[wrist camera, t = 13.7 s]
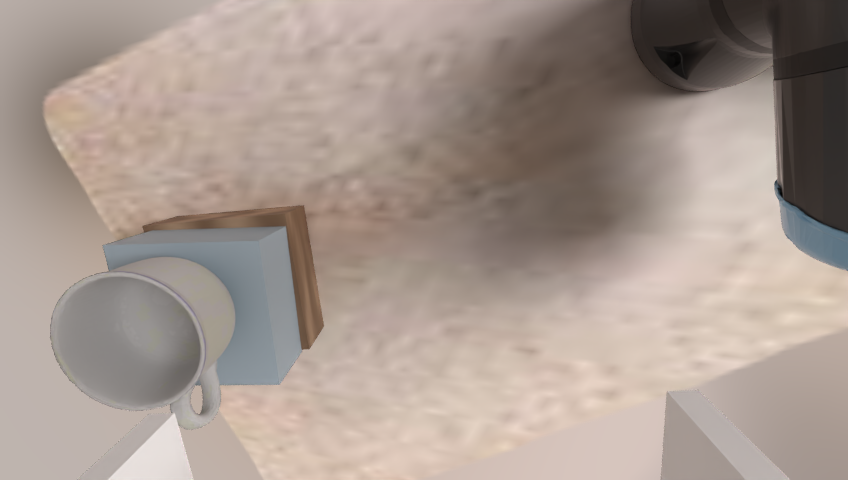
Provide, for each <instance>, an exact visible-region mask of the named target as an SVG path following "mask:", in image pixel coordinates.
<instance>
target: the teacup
mask: <svg viewBox="0 0 848 480" xmlns="http://www.w3.org/2000/svg"><path fill="white" fill-rule="evenodd" d="M234 328H235V308H234V303H233V300H232V298H231V295H230V293H229V291H228V290H227V288H226V287H225V285H224V284H223V283H222V281H221V280H220V279H219V278H218V277H217V276H216V275H215V274H214V273H212V272H211V271H210V270H208V269H207V268H205V267H204V266H202V265H200V264H198V263H195V262H193V261H190V260H187V259H182V258H176V257H156V258H149V259H145V260H141V261H137V262H134V263H131V264H128V265H125V266H122V267H119V268H116V269H113V270H111V271H108V272H102V273H98V274H95V275H91V276H89V277H86V278H84V279H82V280H80V281H79V282H77V283H75V284H74V285H73V286H72V287H70V288H69V289H68V290H67V291H66V292H65V293H64V294H63V295H62V297H61V298H60V299H59V301H58V302H57V304H56V307H55V309H54V311H53V315H52V318H51V325H50V329H51V330H50V331H51V332H50V338H51V342H52V343H51V344H52V348H53V351H54V355H55V357H56V360H57V362H58V363H59V365H60V368H61V369H62V370H63V372H64V373H65V375H66V376H67V377H68V378H69V380H70V381H71V382H72V383H74V384H75V385H76V386H77V387H78V388H79V389H80V390H81V391H82V392H84V393H85V394H86V395H88V396H89V397H91V398H92V399H94V400H96V401H98V402H100V403H103V404H105V405H108V406H110V407H114V408H117V409H123V410H129V411H143V410H151V409H155V408H160V407H164V406H167V405H169V404H170V410H171V413H175V416H176V419H177V423H178V426H180V427H181V428H184V429H187V430H193V429H198V428H201V427H203V426H205V425H207V424H208V423H210V422H211V421H212V420H213V419H214V417H215V416H216V415H217V413H218V410H219V407H220V402H221V390H220V384H219V379H218V375H217V371H216V370H217V359H218V358H219V357H220V356H221V355H222V353H223V352H224V351H225V349H226V348H227V346H228V344H229V343H230V340H231V338H232V335H233V332H234ZM198 379H200V383H201V387H202V393H203V406H202V411H201V413H200V414H197V413H196V412H195V411H194V410H193V408H192V405H191V401H190V400H191V393H192V391H193V389H194V387H195V384H196V382H197V381H198Z"/></svg>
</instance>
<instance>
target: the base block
mask: <svg viewBox="0 0 848 480" xmlns="http://www.w3.org/2000/svg"><path fill="white" fill-rule="evenodd" d="M278 226H286V232H287V240H288V248H289V255H290V263H291V271H292V279H293V287H294V294H295V302H296V310H297V318H298V326H299V334H300V341H301V349H302V350H303V349H310V347H311V346H312V344H313V343H314V341H315V339H316V338H317V336H318V335H319V333H320V332H321V330H322V328H323V327H324V324H323V318H322V312H321V306H320V300H319V294H318V288H317V282H316V276H315V270H314V264H313V258H312V252H311V246H310V240H309V234H308V228H307V222H306V216H305V210H304V205H303V206H292V207H280V208H268V209H257V210H245V211H234V212H222V213H211V214H199V215H188V216H177V217H174V218H170V219H166V220H163V221H159V222H156V223H152V224H149V225H145V226H143V230H144V233H145V232H148V231H152V230H182V229H214V228H246V227H278Z"/></svg>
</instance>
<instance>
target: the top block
mask: <svg viewBox="0 0 848 480" xmlns="http://www.w3.org/2000/svg"><path fill="white" fill-rule="evenodd" d="M103 248H104V253H105V257H106V261H107V265H108V269H109V271H111V270H113V269H116V268H119V267H122V266H125V265H128V264H131V263H134V262H137V261H141V260H145V259H149V258H156V257H176V258H182V259H187V260H190V261H193V262H195V263H198V264H200V265H202V266H204V267H205V268H207V269H208V270H210V271H211V272H212V273H214V274H215V275H216V276H217V277H218V278H219V279H220V280H221V281H222V283H223V284H224V285H225V287H226V288H227V290H228V291H229V293H230V295H231V298H232V300H233V303H234V308H235V328H234V332H233V335H232V338H231V340H230V343H229V344H228V346H227V348H226V349H225V351H224V352H223V353H222V355H221V356H220V357H219V358H218V359H217V370H216V371H217V375H218V379H219V384H220V385H280V383H281V382H282V380H283V379H284V377H285V376H286V374H287V373H288V371H289V370H290V368H291V367H292V365H293V364H294V362H295V361H296V359H297V358H298V356H299V355H300V354H301V352H302V349H301V341H300V334H299V326H298V318H297V310H296V302H295V294H294V287H293V279H292V271H291V263H290V255H289V248H288V240H287V232H286V226H278V227H246V228H214V229H182V230H152V231H148V232H145V233H142V234H138V235H135V236H132V237H128V238H125V239H122V240H118V241H115V242H112V243H108V244H106V245H103ZM195 385H201V383H200V379H198V381H197V382H196V384H195Z"/></svg>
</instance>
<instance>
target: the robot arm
mask: <svg viewBox="0 0 848 480" xmlns="http://www.w3.org/2000/svg"><path fill="white" fill-rule="evenodd" d="M631 29H632V36H633V40H634V44H635V47H636V50H637V52H638V54H639V56H640V58H641V60H642V62H643V63H644V64H645V66H646V67H647V68H648V70H649V71H650V72H651V73H652V74H653V75H654V76H656V77H657V78H658V79H660V80H661V81H662V82H664V83H666V84H668V85H670V86H672V87H675V88H678V89H682V90H687V91H709V90H714V89H719V88H724V87H729V86H733V85H736V84H739V83H742V82H744V81H746V80H749V79H751V78H753V77H755V76H757V75H758V74H760V73H762V72H763V71H765V70H766V69H768V68H769V67H771V66H772V65H773V70H774V80H773V85H774V110H775V135H776V161H777V180H776V181H775V183H774V185H775V186H774V190H775V194H776V196H777V198H778V200H779V202H780V212H781V222H782V228H783V230H784V233H785V235H786V236H787V238H788V239H790V240H791V241H792V242H793V244H795V245H796V247H797V248H798V249H799V250H801V251H802V252H804V253H805V254H807V255H809V256H811V257H813V258H815V259H817V260H819V261H821V262H823V263H826V264H828V265H831V266H834V267H837V268H840V269H843V270H846V271H848V0H633V4H632V11H631ZM77 480H193V476H192V473H191V469H190V466H189V462H188V458H187V455H186V451H185V448H184V444H183V441H182V437H181V434H180V430H179V426H178V423H177V419H176V416H175V413H158V414H148V415H147V416H146V417H145V418H144V419H143V420H141V421H140V423H138V424H137V425H136V426H135V427H134V428H133V429H132V430H131V431H129V432H128V433H127V434H126V435H125V436H124V437H123V438H122V439H121V440H120V441H118V443H116V444H115V445H114V446H113V447H112V448H111V449H110V450H109V451H108V452H106V453H105V454H104V455H103V456H102V457H101V458H100V459H99V460H98V461H97V462H96V463H94V464H93V465H92V466H91V467H90V468H89V469H88V470H87V471H86V472H85V473H84V474H83V475H81V476H80V477H79V478H78V479H77ZM661 480H790V479H789V478H788V477H787V476H786V475H785V474H784V473H783V472H782V471H781V470H780V469H779V468H778V467H777V466H776V465H775V464H774V463H773V462H772V461H771V460H770V459H768V457H767V456H766V455H764V453H763V452H762V451H760V450H759V449H758V448H757V447H756V446H755V445H754V444H753V443H752V442H751V441H750V440H749V439H748V438H747V437H746V436H745V435H744V434H743V433H742V432H741V431H740V430H739V429H738V428H737V427H736V426H735V425H734V424H733V423H732V422H731V421H730V420H729V419H728V418H726V416H725V415H724V414H722V412H721V411H720V410H719V409H718V408H717V407H716V406H714V405H713V404H712V403H711V402H710V401H709V400H708V399H707V398H706V397H705V396H704V395H703V394H702V393H701V392H700V391H699V390H683V391H667V395H666V410H665V426H664V440H663V455H662V469H661Z"/></svg>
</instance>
